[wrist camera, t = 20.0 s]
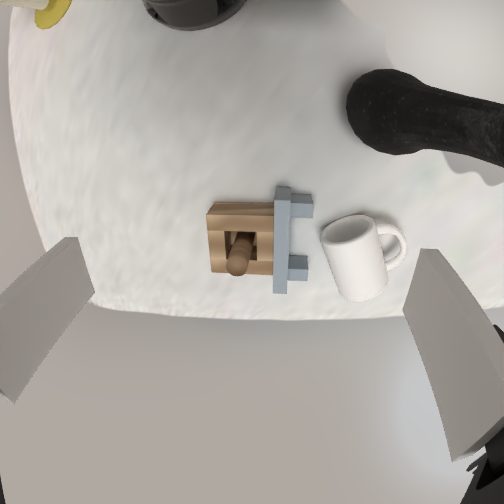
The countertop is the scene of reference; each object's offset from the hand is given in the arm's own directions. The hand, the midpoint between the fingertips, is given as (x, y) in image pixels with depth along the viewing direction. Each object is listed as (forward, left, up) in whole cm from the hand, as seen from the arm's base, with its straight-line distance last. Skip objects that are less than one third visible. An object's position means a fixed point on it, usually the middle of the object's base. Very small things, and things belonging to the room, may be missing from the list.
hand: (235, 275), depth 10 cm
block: (+13, -4, -32) cm, 35 cm away
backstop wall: (+13, +3, -32) cm, 34 cm away
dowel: (+13, -4, -31) cm, 34 cm away
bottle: (-6, +14, -32) cm, 35 cm away
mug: (+14, +14, -32) cm, 38 cm away
